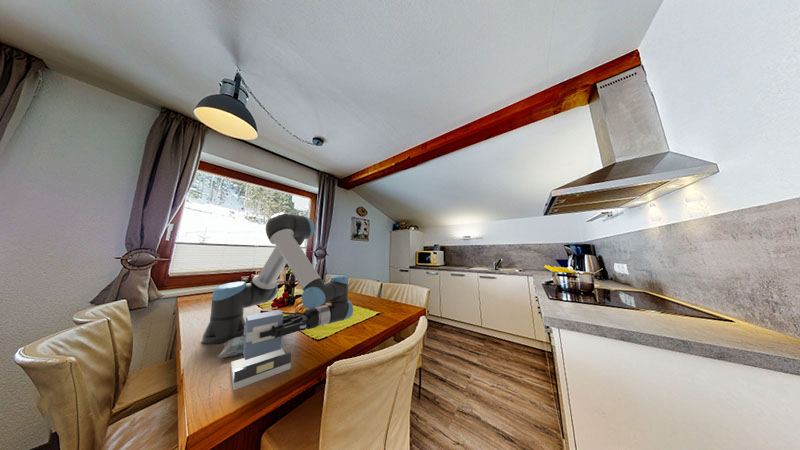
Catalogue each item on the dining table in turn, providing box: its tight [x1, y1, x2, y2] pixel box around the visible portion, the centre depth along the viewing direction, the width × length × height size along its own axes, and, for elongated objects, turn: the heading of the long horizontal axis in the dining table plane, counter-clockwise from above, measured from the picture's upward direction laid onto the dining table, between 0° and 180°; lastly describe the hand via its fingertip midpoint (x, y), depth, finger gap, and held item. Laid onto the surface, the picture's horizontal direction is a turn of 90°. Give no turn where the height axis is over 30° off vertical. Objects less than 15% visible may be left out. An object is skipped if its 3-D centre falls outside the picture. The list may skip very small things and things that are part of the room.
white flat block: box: [230, 347, 292, 391], centre depth 67 cm, size 14×15×5 cm
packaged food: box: [217, 335, 244, 358], centre depth 77 cm, size 9×12×5 cm
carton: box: [242, 309, 284, 360], centre depth 68 cm, size 6×10×12 cm, turn 133°
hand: (245, 334), depth 65 cm, fingers closed on carton, 6 cm apart
